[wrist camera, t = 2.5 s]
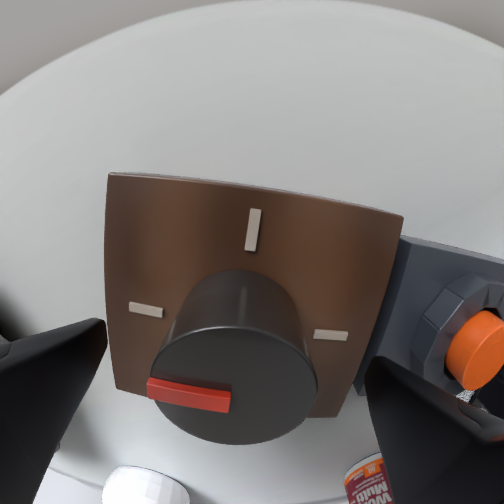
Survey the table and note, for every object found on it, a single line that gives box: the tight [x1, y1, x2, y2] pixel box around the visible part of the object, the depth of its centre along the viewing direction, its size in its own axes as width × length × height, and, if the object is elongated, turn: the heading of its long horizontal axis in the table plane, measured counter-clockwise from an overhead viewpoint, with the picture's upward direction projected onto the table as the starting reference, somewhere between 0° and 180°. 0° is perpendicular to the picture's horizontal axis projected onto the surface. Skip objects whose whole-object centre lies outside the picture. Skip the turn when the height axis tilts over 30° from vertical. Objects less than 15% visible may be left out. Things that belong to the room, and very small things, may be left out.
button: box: [446, 311, 504, 391], centre depth 9 cm, size 4×4×2 cm
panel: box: [104, 172, 404, 418], centre depth 12 cm, size 11×10×3 cm
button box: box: [352, 235, 504, 396], centre depth 12 cm, size 10×8×4 cm
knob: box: [147, 270, 318, 445], centre depth 8 cm, size 4×4×4 cm
